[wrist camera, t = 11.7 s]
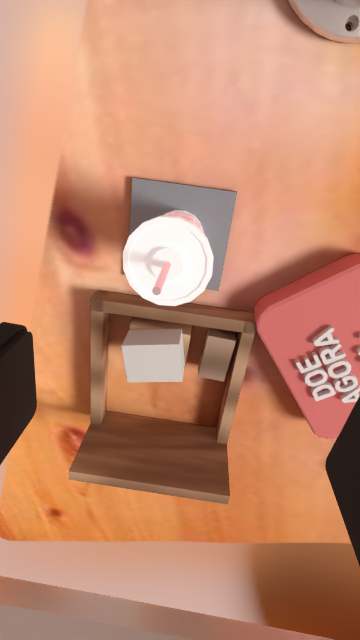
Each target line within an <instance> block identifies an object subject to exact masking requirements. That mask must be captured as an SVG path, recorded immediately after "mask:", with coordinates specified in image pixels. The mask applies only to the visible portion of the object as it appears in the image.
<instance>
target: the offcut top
mask: <svg viewBox="0 0 360 640" xmlns="http://www.w3.org/2000/svg"><path fill="white" fill-rule="evenodd" d="M122 352H123V357H124V363H125V369H126V374H127V380H128V382H183V374H184V366H185V360H184V348H183V337H182V329H155V330H129V331H128V333H127V335H126V337H125V339H124V341H123V344H122Z"/></svg>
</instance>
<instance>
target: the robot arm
mask: <svg viewBox="0 0 360 640" xmlns="http://www.w3.org/2000/svg"><path fill="white" fill-rule="evenodd" d="M288 1H289V3H290V6H291V7H292V9H293V10H294V11H295V13H296V14H297V15H298V17H299V18H300V19H301V21H302V22H303V23H304V24H306V25H307V26H308V27H309V28H311V29H312V30H313V31H314V32H315V33H317V34H319V35H321V36H324V37H326V38H328V39H330V40H334V41H339V42H344V43H360V0H288ZM346 24H349V25H350V26H351V29H350V31H347V30H346V28H345V25H346ZM36 407H37V400H36V384H35V368H34V352H33V337H32V333H31V332H28V331H27V329H26V327H25V326H23V325H18V324H12V323H7V322H2V323H1V324H0V465H1V463H2V461H3V460H4V459H5V457H6V456H7V454H8V453H9V451H10V450H11V448H12V447H13V445H14V444H15V443H16V441H17V440H18V438H19V437H20V435H21V434H22V432H23V431H24V429H25V428H26V426H27V425H28V424H29V422H30V421H31V419H32V418H33V416H34V414H35V411H36ZM326 471H327V474H328V477H329V480H330V483H331V486H332V489H333V491H334V494H335V497H336V500H337V503H338V506H339V508H340V511H341V514H342V517H343V520H344V523H345V526H346V528H347V531H348V534H349V537H350V540H351V543H352V545H353V548H354V551H355V554H356V557H357V560H358V563H359V565H360V396H359V398H358V400H357V402H356V403H355V405H354V407H353V409H352V411H351V413H350V415H349V417H348V419H347V421H346V423H345V424H344V426H343V428H342V430H341V432H340V434H339V436H338V438H337V440H336V442H335V443H334V445H333V447H332V449H331V451H330V453H329V455H328V457H327V459H326ZM0 640H334V639H329V638H324V637H319V636H314V635H309V634H304V633H298V632H294V631H289V630H283V629H279V628H273V627H268V626H263V625H257V624H253V623H247V622H242V621H237V620H232V619H227V618H221V617H216V616H210V615H205V614H200V613H195V612H190V611H184V610H179V609H174V608H169V607H163V606H158V605H153V604H148V603H143V602H137V601H132V600H127V599H122V598H116V597H111V596H106V595H100V594H95V593H90V592H84V591H79V590H73V589H68V588H62V587H57V586H51V585H46V584H41V583H35V582H30V581H25V580H19V579H13V578H8V577H2V576H0Z"/></svg>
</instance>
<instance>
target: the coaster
mask: <svg viewBox="0 0 360 640" xmlns="http://www.w3.org/2000/svg"><path fill="white" fill-rule="evenodd" d="M236 195H237V192H235V191H228V190H221V189H213V188H206V187H199V186H192V185H184V184H177V183H170V182H163V181H155V180H148V179H141V178H132V193H131V212H130V231H129V236H130V235H131V234H132V233H133V232H134V231H135V230H136V229H137V228H138V227H139V226H140V225H141V224H142V223H143V222H145V221H148V220H151V219H153V218H156V217H158V216H162V215H164V214H166V213H169V212H171V211H174V210H183V211H187V212H189V213H191V214H193V215H195V217H196V218H197V219H198V220H199V221H200V222H201V225H202V228H203V231H204V234H205V236H206V237H207V238H208V241H209V244H210V247H211V250H212V253H213V257H214V259H213V271H212V277H211V279H210V280H209V282H208V284H207V286H206V288H205V289H210V290H217V291H219V286H220V281H221V275H222V270H223V265H224V259H225V254H226V249H227V243H228V238H229V232H230V227H231V222H232V216H233V211H234V205H235V200H236Z"/></svg>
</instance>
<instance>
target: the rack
mask: <svg viewBox="0 0 360 640" xmlns="http://www.w3.org/2000/svg"><path fill="white" fill-rule="evenodd" d="M109 313H112V314H119V315H126V316H133V317H140V318H147V319H153V320H160V321H167V322H174V323H181V324H188V325H194V326H201V327H208V328H215V329H222V330H229V331H235V332H238V333H237V338H236V343H235V347H234V351H233V355H232V360H231V364H230V369H229V373H228V377H227V382H226V386H225V391H224V395H223V400H222V404H221V408H220V413H219V417H218V422H217V426H216V427H209V426H203V425H196V424H190V423H183V422H176V421H170V420H163V419H157V418H150V417H144V416H137V415H130V414H124V413H117V412H111V411H106V409H107V375H108V341H109ZM255 331H256V321H255V318H254V314H253V312H246V311H239V310H232V309H225V308H219V307H212V306H205V305H198V304H191V303H184V304H180V305H177V306H166V305H157V304H155V303H153V302H151V301H148V300H146V299H144V298H142V297H141V296H136V295H129V294H122V293H115V292H108V291H101V290H98V291H97V292H96V293H95V295H94V296H93V297H92V298H91V423H90V426H89V428H88V430H87V432H86V434H85V437H84V439H83V441H82V443H81V445H80V448H79V450H78V452H77V454H76V456H75V459H74V461H73V463H72V465H71V467H70V470H69V480H76V481H82V482H88V483H95V484H101V485H108V486H114V487H120V488H127V489H133V490H139V491H146V492H152V493H159V494H165V495H171V496H178V497H184V498H191V499H197V500H203V501H210V502H216V503H222V504H228V501H229V498H230V491H229V474H228V457H227V441H228V437H229V433H230V430H231V426H232V422H233V418H234V414H235V410H236V406H237V402H238V398H239V394H240V390H241V386H242V382H243V378H244V374H245V370H246V366H247V363H248V359H249V355H250V351H251V347H252V343H253V339H254V335H255Z"/></svg>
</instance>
